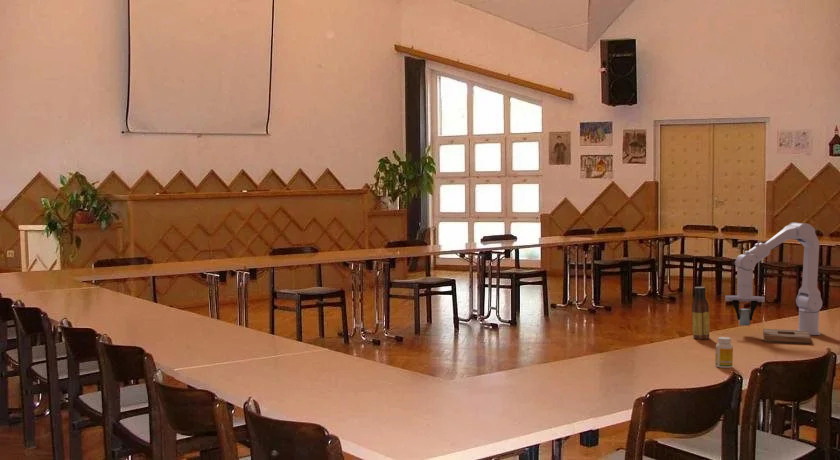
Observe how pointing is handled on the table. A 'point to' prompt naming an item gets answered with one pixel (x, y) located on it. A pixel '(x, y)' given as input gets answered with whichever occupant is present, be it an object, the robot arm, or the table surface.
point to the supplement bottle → (724, 353)
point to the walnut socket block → (786, 336)
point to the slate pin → (744, 317)
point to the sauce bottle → (700, 315)
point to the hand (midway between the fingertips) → (744, 319)
